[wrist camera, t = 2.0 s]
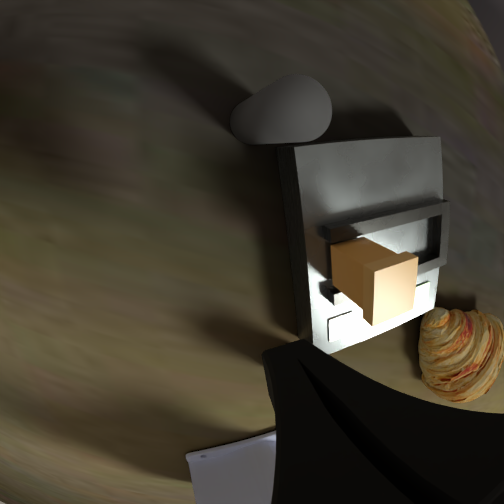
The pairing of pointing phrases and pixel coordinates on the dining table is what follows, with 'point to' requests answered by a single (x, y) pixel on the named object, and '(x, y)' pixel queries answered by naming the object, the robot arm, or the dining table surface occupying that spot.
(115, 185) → the dining table surface
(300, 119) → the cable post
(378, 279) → the switch knob
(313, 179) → the panel
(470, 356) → the croissant
